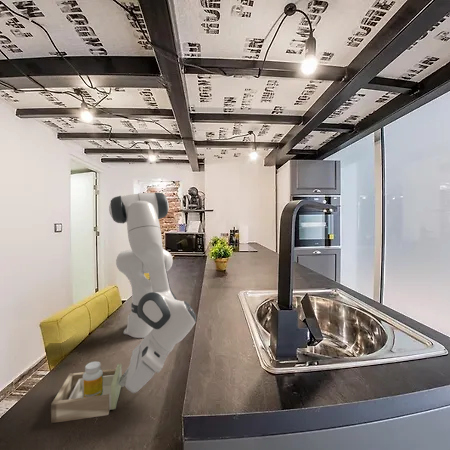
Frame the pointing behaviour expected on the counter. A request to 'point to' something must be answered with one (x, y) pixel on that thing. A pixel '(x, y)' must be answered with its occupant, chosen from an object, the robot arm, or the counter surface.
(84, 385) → the supplement bottle
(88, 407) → the tray frame
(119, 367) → the tray
